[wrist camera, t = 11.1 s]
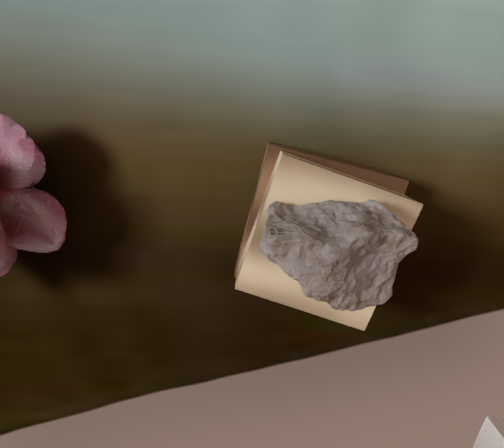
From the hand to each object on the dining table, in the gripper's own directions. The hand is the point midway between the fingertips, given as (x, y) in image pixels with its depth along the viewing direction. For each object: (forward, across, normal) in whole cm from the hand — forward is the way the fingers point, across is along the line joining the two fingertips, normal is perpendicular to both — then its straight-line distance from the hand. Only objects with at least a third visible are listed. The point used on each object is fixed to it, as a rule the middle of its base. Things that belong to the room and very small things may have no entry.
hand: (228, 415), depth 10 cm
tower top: (+24, +7, -1) cm, 25 cm away
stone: (+20, +6, -1) cm, 21 cm away
